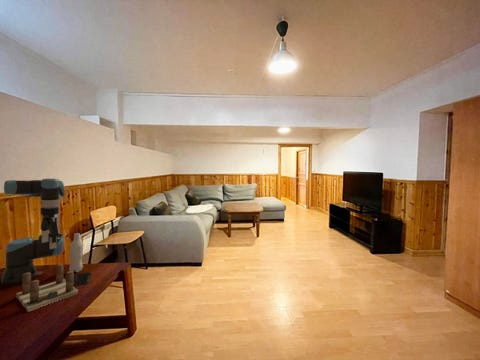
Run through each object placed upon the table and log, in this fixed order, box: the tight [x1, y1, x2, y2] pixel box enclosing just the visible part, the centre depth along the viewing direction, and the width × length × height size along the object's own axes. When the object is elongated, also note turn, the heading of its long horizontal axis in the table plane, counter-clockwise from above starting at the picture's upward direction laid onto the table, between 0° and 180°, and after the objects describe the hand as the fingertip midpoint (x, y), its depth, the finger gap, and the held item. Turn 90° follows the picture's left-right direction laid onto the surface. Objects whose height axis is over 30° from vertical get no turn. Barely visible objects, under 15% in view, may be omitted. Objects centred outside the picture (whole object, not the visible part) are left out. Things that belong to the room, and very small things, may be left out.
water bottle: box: [68, 232, 84, 273], centre depth 144 cm, size 7×7×25 cm
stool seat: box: [16, 263, 79, 313], centre depth 116 cm, size 20×20×12 cm
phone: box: [73, 272, 92, 287], centre depth 135 cm, size 8×1×15 cm
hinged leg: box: [30, 279, 58, 303], centre depth 110 cm, size 4×10×10 cm, turn 137°
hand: (48, 245), depth 121 cm, fingers open, 13 cm apart
